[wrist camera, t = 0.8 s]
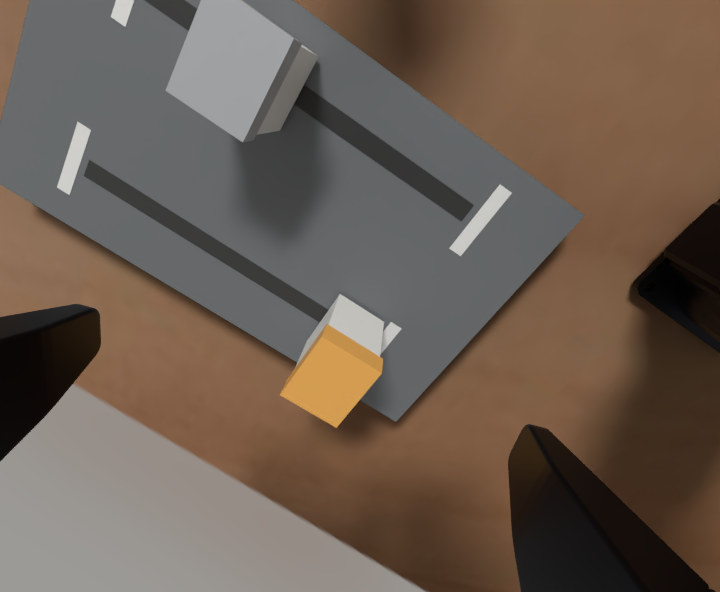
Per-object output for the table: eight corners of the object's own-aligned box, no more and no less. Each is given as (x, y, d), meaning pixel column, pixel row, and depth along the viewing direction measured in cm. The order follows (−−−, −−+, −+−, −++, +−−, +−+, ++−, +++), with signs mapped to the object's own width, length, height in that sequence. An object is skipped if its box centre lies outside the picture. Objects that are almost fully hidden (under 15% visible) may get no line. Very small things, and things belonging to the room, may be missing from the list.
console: (567, 205, 19) (584, 215, 17) (396, 397, 24) (395, 422, 22) (108, -134, 16) (68, -166, 14) (24, 170, 21) (-13, 176, 19)
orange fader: (387, 321, 20) (381, 373, 16) (349, 368, 21) (336, 427, 17) (339, 290, 19) (321, 336, 15) (304, 341, 20) (280, 395, 17)
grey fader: (322, 55, 15) (293, 38, 12) (280, 134, 17) (242, 142, 13) (260, 10, 15) (209, -23, 11) (222, 94, 16) (165, 90, 13)
